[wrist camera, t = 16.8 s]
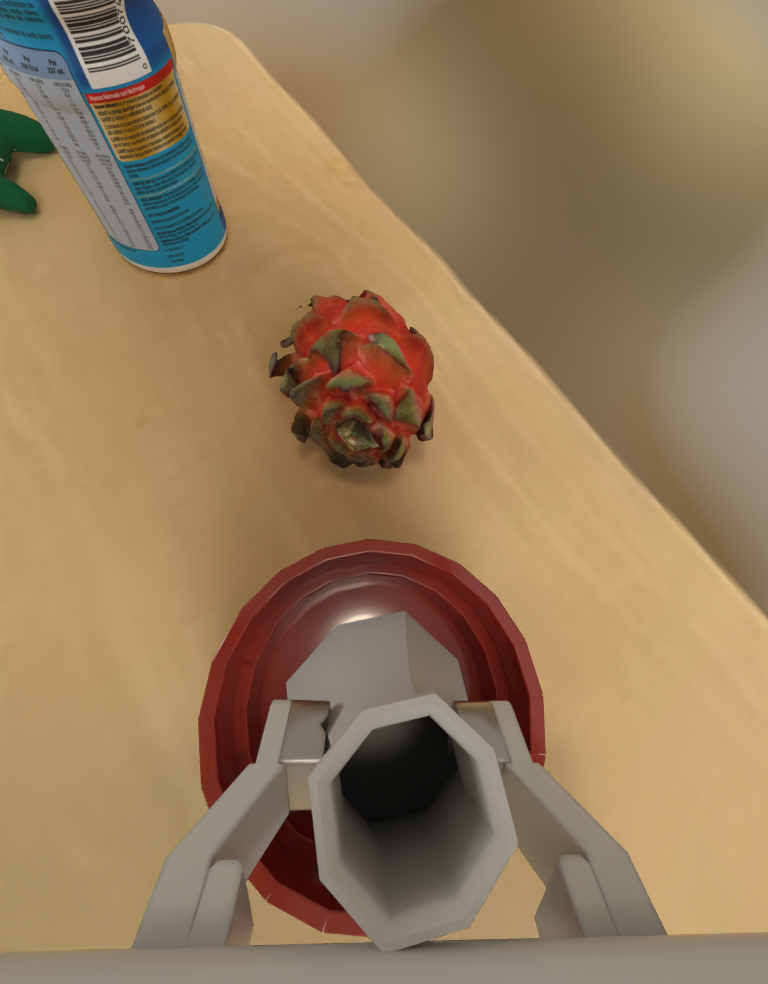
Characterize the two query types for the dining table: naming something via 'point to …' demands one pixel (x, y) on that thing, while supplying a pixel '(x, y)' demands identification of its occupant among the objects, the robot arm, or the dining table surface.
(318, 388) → the dragon fruit
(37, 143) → the gaming controller
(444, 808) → the flask
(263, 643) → the bowl
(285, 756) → the robot arm
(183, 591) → the dining table surface
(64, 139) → the beverage bottle
